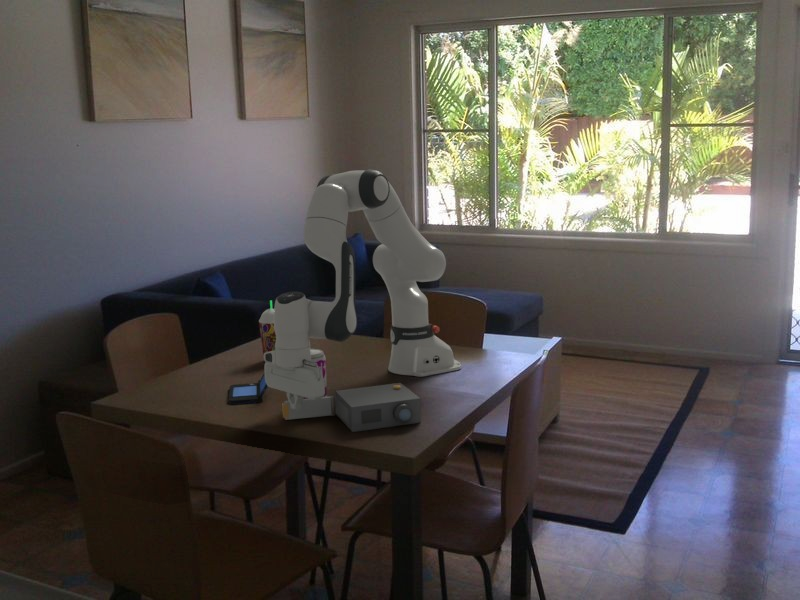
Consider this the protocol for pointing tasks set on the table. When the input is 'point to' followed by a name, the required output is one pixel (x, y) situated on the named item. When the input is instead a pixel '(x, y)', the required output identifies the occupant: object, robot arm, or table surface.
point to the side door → (310, 408)
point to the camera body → (377, 407)
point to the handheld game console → (247, 392)
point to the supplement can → (319, 364)
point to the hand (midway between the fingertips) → (295, 409)
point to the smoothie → (267, 330)
